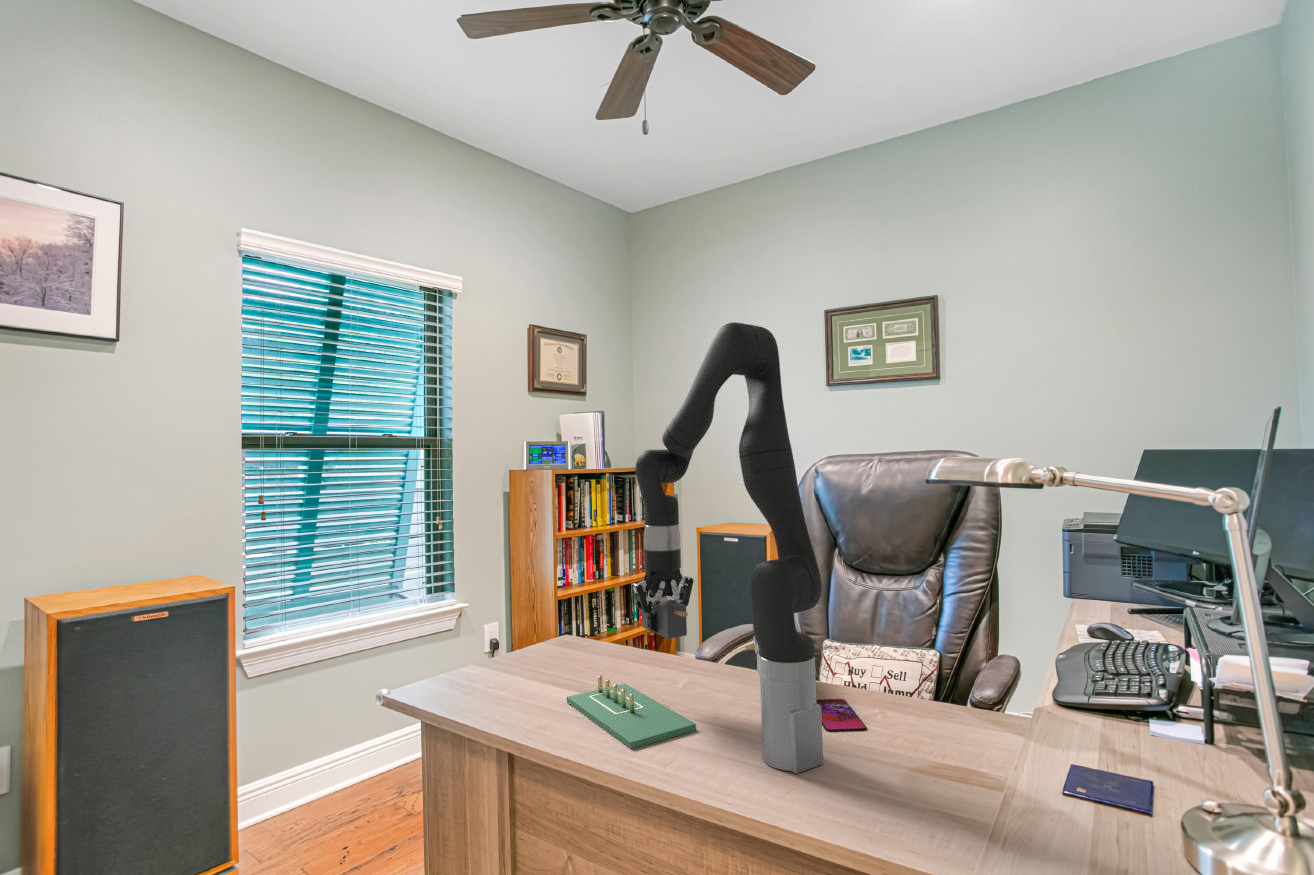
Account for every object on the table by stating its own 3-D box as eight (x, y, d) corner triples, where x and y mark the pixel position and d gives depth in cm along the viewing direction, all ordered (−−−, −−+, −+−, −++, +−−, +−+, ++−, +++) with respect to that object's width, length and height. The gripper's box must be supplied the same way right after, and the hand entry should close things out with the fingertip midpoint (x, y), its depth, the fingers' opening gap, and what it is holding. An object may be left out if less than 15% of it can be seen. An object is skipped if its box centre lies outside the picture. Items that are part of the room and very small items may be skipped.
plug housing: (695, 638, 130) (694, 608, 130) (675, 642, 128) (675, 611, 128) (660, 624, 142) (659, 596, 142) (642, 627, 139) (641, 598, 140)
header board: (696, 730, 124) (696, 723, 124) (630, 749, 117) (630, 741, 117) (624, 688, 148) (624, 682, 148) (566, 702, 140) (566, 696, 140)
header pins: (635, 712, 130) (635, 694, 130) (631, 713, 130) (630, 695, 130) (601, 691, 143) (601, 674, 143) (597, 692, 143) (596, 675, 143)
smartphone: (826, 729, 121) (806, 699, 136) (826, 734, 121) (807, 703, 136) (868, 728, 121) (844, 698, 136) (868, 733, 121) (844, 702, 136)
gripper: (640, 551, 130) (642, 640, 129) (701, 545, 137) (703, 628, 136) (623, 547, 136) (624, 631, 136) (681, 541, 143) (683, 621, 143)
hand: (664, 629), depth 136 cm, fingers closed on plug housing, 4 cm apart
